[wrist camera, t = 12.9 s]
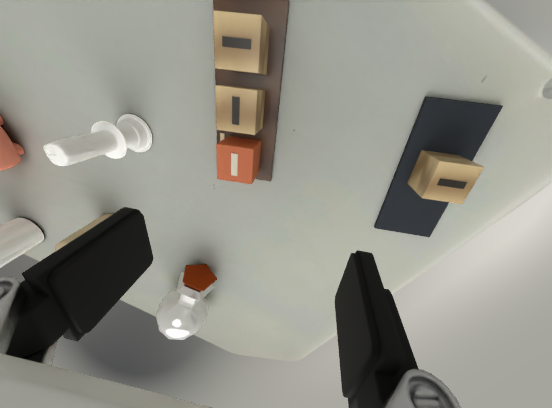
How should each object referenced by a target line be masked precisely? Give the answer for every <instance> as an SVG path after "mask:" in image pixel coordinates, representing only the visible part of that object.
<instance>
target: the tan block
mask: <svg viewBox="0 0 552 408" xmlns="http://www.w3.org/2000/svg"><path fill="white" fill-rule="evenodd" d="M483 169H484V167H483V166H481V165H479V164H477V163H474V162H472V161H470V160H468V159H466V158H464V157H462V156H460V155H454V154H446V153H439V152H432V151H424V150H421V153H420V155H419V157H418V160H417V162H416V164H415V167H414V169H413V171H412V173H411V176H410V178H409V180H408V184H409V185H410V186H411V187H412V188H413V190H414V191H415V192H416V193H417V194H418V195H419V196H420V197H421V198H424V199H431V200H437V201H444V202H451V203H457V204H463V202H464V200H465V199H466V197H467V195H468V194H469V192H470V190H471V189H472V187H473V185H474V184H475V182H476V180H477V179H478V177H479V175H480V174H481V172H482V170H483Z"/></svg>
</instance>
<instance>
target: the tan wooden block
mask: <svg viewBox="0 0 552 408" xmlns="http://www.w3.org/2000/svg"><path fill="white" fill-rule="evenodd" d="M213 17H214V54H215V68H217V69H223V70H228V71H236V72H244V73H253V74H261V75H266V74H267V60H268V46H269V33H270V26H269V25H268V23H267V22H266V21H265V19H264V18H263V16H262V15H257V14H246V13H236V12H226V11H216V10H214V11H213Z"/></svg>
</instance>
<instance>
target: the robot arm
mask: <svg viewBox="0 0 552 408" xmlns="http://www.w3.org/2000/svg"><path fill="white" fill-rule="evenodd" d="M152 261H153V254H152V250H151V246H150V241H149V237H148V233H147V229H146V224H145V220H144V216H143V214H141V212H140V211H139V210H137V209H132V208H127V207H125V208H122V209H120V210H119V211H117V212H116V213H114V214H113V215H111V216H109V217H108V218H106V219H105V220H103V221H102V222H100V223H99V224H97V225H96V226H94V227H93V228H91V229H89V230H88V231H86V232H85V233H83V234H82V235H80V236H79V237H77V238H76V239H74V240H72V241H71V242H69V243H68V244H66V245H65V246H63V247H62V248H60V249H59V250H57V251H56V252H54V253H52V254H51V255H49V256H48V257H46V258H45V259H43V260H42V261H40V262H39V263H37V264H36V265H34V266H32V267H31V268H30V269H28V270H26V271H25V272H23V273H22V275H23V277H24V278H25V281H23V282H21V283H20V282H19V281H18V279H17V278H14V277H0V408H211V407H207V406H203V405H199V404H196V403H192V402H188V401H185V400H181V399H177V398H173V397H169V396H166V395H162V394H158V393H154V392H150V391H147V390H143V389H139V388H135V387H131V386H127V385H123V384H120V383H116V382H112V381H108V380H104V379H100V378H97V377H93V376H89V375H85V374H81V373H77V372H73V371H69V370H65V369H62V368H57V367H53V366H52V363H53V358H54V353H55V349H56V344H57V340H58V339H59V338H60V337H61V336H62V335H63V336H64V338H66V339H70V340H74V341H78V340H80V339H81V337H82V336H83V335H84V334H85V333H88V332H90V331H91V330H92V329H93V328H94V327H95V326H96V325H97V323H98V322H99V321H100V320H101V319H102V318H103V317H104V316H105V315H106V313H107V312H108V311H109V310H110V309H111V308H112V307H113V306H114V305H115V304H116V303H117V301H118V300H119V299H120V298H121V297H122V296H123V295H124V294H125V293H126V292H127V290H128V289H129V288H130V287H131V286H132V285H133V284H134V283H135V282H136V280H137V279H138V278H139V277H140V276H141V275H142V274H143V273H144V272H145V271H146V269H147V268H148V267H149V266H150V265H151V264H152ZM335 310H336V322H337V334H338V345H339V358H340V370H341V381H342V392H343V396H344V397H347V398H348V403H349V408H461V407H460V405H459V403H458V401H457V399H456V398H455V396H454V395H453V394H452V392H451V391H450V390H449V388H448V387H447V386H446V385H445V384H444V383H443V382H442V381H441V380H439V379H438V378H436V377H435V376H434V375H432V374H431V373H428V372H426V371H424V370H420V369H418V366H417V364H416V361H415V358H414V355H413V352H412V350H411V347H410V344H409V341H408V338H407V335H406V333H405V330H404V327H403V324H402V322H401V319H400V316H399V313H398V310H397V307H396V305H395V302H394V299H393V296H392V294H391V292H390V291H389V290H388V289H384V287H383V284H382V281H381V278H380V275H379V272H378V269H377V266H376V263H375V260H374V257H373V254H372V253H368V252H363V251H356V253H351V255H350V258H349V260H348V263H347V266H346V269H345V271H344V274H343V277H342V279H341V282H340V285H339V288H338V290H337V293H336V296H335Z"/></svg>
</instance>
